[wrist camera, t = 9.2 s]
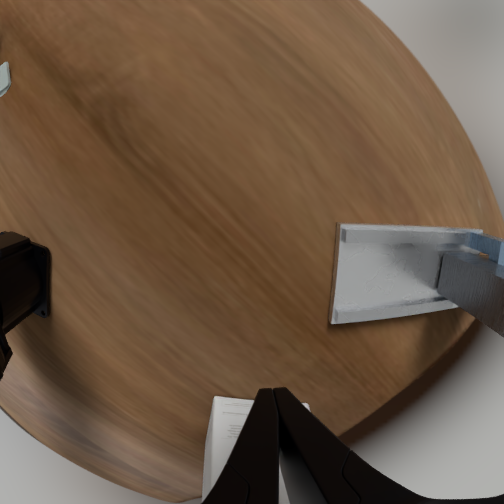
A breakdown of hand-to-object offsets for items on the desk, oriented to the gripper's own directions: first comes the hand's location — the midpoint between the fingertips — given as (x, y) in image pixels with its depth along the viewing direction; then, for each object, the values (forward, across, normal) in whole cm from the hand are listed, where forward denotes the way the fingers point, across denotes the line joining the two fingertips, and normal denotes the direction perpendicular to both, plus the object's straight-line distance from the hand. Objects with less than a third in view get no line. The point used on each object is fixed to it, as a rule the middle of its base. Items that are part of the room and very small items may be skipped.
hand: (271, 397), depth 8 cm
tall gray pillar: (+11, -19, 0) cm, 22 cm away
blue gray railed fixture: (+12, -14, 0) cm, 18 cm away
